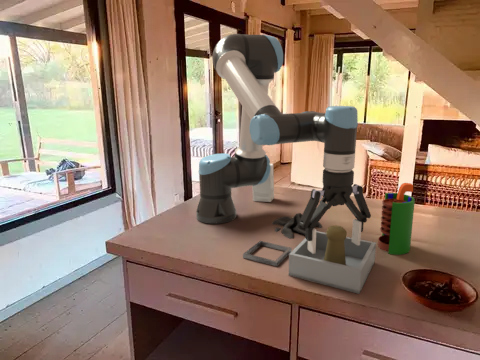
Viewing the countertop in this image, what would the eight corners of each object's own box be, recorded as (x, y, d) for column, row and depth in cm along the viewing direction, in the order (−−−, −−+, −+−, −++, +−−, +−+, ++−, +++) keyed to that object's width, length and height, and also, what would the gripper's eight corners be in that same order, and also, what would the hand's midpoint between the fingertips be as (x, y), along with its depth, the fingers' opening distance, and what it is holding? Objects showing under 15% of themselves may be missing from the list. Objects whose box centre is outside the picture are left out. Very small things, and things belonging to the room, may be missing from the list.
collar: (243, 257, 105) (242, 254, 104) (260, 244, 113) (260, 240, 113) (276, 266, 99) (276, 262, 99) (291, 251, 108) (291, 247, 108)
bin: (288, 275, 95) (289, 254, 93) (312, 248, 110) (312, 230, 108) (359, 294, 86) (360, 271, 84) (374, 262, 101) (376, 242, 99)
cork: (336, 258, 102) (338, 221, 99) (350, 268, 96) (353, 229, 93) (318, 262, 99) (320, 225, 96) (332, 273, 94) (334, 233, 91)
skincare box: (274, 198, 159) (274, 163, 155) (270, 202, 153) (271, 166, 149) (255, 196, 161) (255, 162, 157) (251, 201, 155) (251, 165, 151)
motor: (371, 240, 115) (377, 179, 110) (399, 239, 115) (405, 178, 110) (387, 255, 105) (393, 188, 100) (416, 253, 106) (424, 187, 100)
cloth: (272, 218, 137) (272, 202, 135) (322, 220, 134) (323, 204, 132) (264, 242, 116) (264, 224, 114) (324, 246, 112) (325, 228, 111)
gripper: (301, 177, 83) (298, 261, 89) (389, 167, 91) (382, 245, 97) (286, 170, 90) (285, 248, 96) (369, 162, 98) (364, 235, 104)
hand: (334, 247), depth 96 cm, fingers open, 13 cm apart
